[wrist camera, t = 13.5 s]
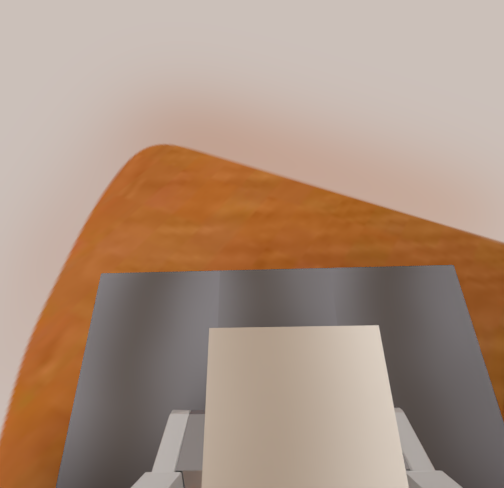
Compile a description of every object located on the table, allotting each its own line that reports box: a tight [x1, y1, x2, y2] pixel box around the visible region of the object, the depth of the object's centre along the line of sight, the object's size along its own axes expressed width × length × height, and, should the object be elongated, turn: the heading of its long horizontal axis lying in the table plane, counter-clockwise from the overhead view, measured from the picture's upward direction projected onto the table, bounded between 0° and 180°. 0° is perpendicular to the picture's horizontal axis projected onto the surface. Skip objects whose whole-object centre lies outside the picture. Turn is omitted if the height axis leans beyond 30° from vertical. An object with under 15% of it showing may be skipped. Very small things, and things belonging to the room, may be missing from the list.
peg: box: [202, 325, 409, 488], centre depth 9 cm, size 3×4×9 cm
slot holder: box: [56, 265, 504, 488], centre depth 13 cm, size 16×12×4 cm
